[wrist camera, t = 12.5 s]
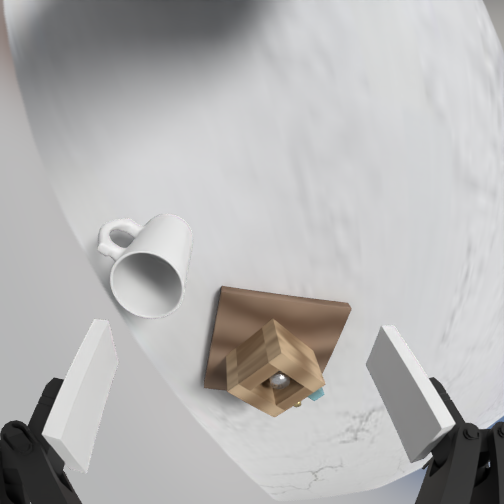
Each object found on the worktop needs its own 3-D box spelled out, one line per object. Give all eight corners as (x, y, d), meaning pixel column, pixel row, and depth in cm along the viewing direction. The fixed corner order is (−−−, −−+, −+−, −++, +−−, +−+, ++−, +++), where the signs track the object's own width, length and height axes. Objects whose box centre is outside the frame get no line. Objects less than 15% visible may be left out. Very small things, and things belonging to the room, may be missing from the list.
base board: (221, 285, 39) (221, 291, 38) (348, 302, 42) (351, 308, 41) (204, 381, 46) (203, 387, 45) (309, 389, 49) (311, 395, 48)
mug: (206, 233, 37) (199, 280, 26) (176, 273, 38) (160, 331, 27) (138, 184, 34) (100, 212, 22) (110, 228, 35) (69, 271, 24)
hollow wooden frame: (226, 355, 42) (227, 391, 36) (273, 318, 40) (281, 353, 34) (294, 398, 47) (302, 430, 41) (336, 369, 46) (350, 400, 39)
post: (267, 346, 42) (273, 375, 37) (284, 347, 43) (292, 376, 37) (263, 358, 43) (268, 388, 38) (280, 360, 43) (286, 389, 38)
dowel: (291, 386, 46) (295, 402, 43) (298, 386, 46) (302, 402, 43) (289, 391, 47) (292, 407, 43) (295, 391, 47) (300, 407, 44)
